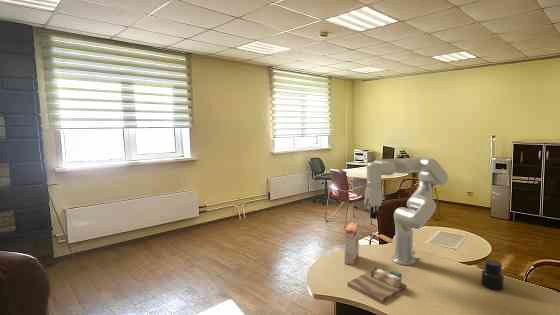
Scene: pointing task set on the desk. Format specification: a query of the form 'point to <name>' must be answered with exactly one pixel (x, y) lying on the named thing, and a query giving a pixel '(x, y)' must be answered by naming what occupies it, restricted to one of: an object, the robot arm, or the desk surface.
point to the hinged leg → (386, 277)
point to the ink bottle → (492, 275)
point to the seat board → (376, 287)
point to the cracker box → (351, 243)
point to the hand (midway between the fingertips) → (373, 218)
